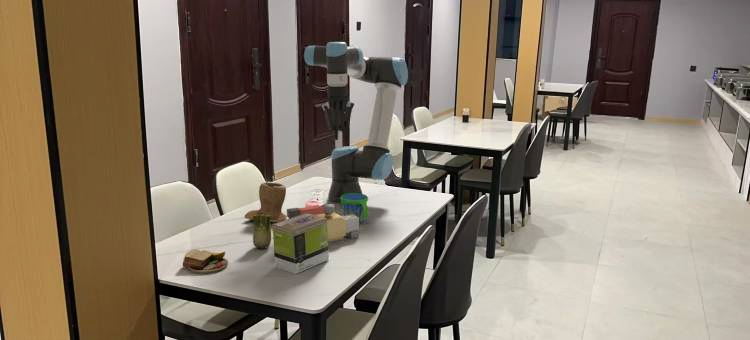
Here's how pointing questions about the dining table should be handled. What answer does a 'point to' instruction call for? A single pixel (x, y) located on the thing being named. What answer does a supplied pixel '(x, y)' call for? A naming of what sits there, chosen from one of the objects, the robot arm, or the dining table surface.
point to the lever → (311, 210)
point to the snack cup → (355, 205)
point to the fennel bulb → (261, 232)
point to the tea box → (300, 242)
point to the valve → (341, 227)
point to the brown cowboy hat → (270, 202)
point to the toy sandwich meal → (204, 261)
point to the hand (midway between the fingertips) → (338, 147)
